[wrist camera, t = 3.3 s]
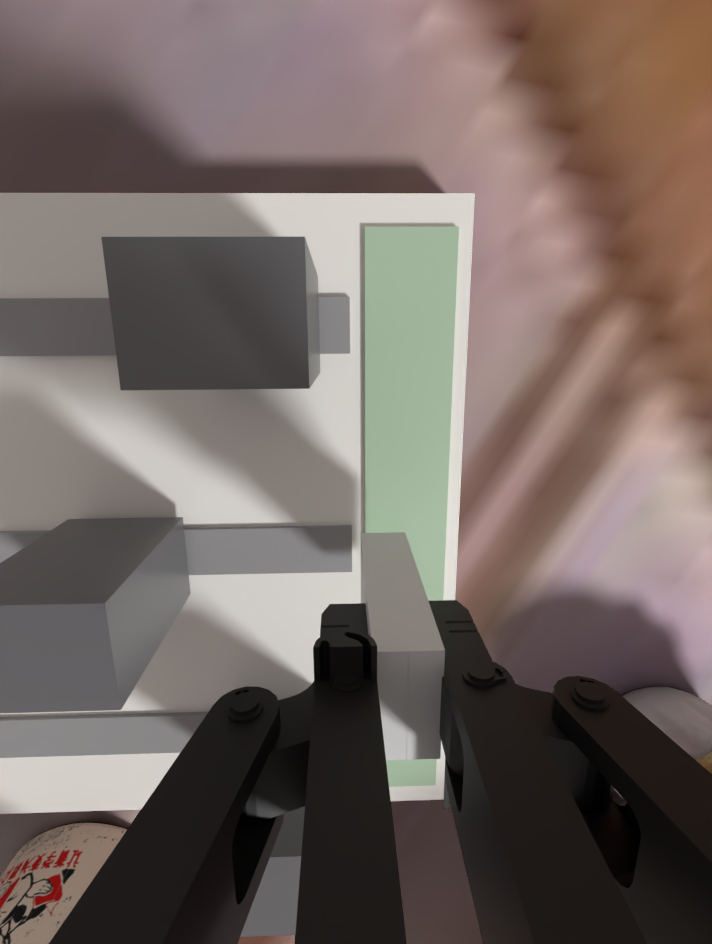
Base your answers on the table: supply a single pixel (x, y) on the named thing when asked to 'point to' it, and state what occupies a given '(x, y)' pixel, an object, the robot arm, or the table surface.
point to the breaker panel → (230, 458)
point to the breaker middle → (88, 612)
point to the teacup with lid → (51, 879)
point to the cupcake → (678, 719)
